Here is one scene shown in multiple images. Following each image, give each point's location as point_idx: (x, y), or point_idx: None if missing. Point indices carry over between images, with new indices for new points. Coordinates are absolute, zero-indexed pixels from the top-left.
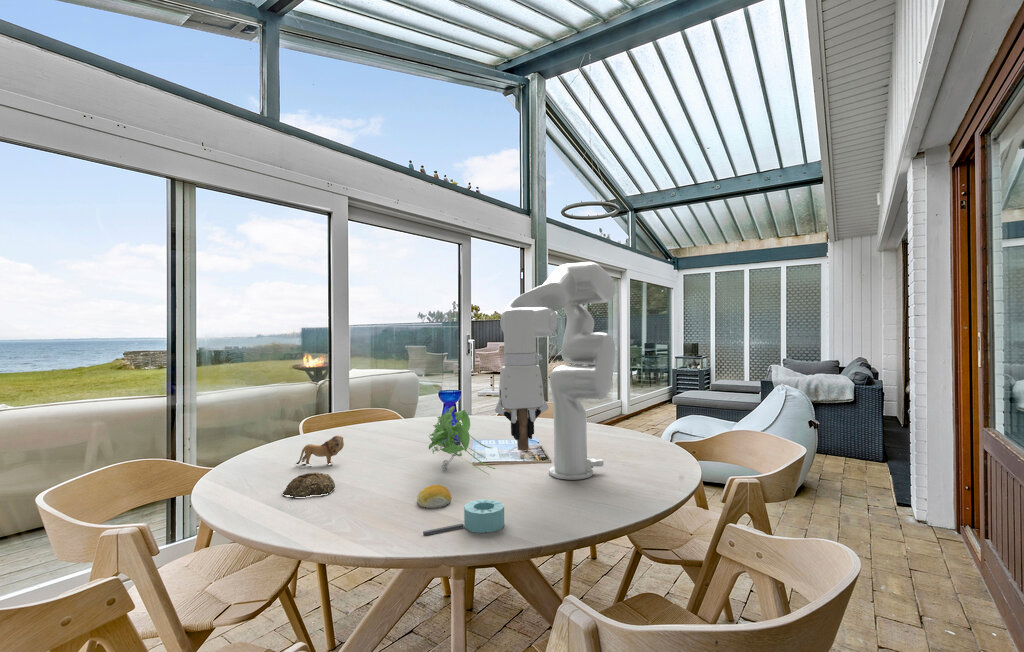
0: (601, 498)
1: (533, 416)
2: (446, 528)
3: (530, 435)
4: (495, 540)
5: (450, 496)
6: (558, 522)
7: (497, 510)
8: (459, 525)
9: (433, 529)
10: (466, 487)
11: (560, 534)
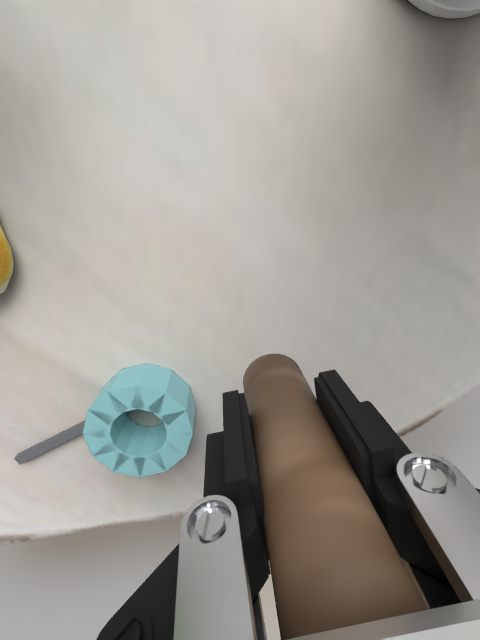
0: (467, 233)
1: (453, 592)
2: (64, 441)
3: None
4: (181, 473)
5: (4, 264)
6: None
7: (177, 459)
8: None
9: (35, 449)
10: (24, 80)
11: None
